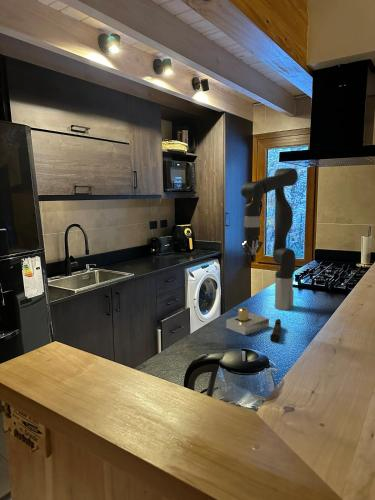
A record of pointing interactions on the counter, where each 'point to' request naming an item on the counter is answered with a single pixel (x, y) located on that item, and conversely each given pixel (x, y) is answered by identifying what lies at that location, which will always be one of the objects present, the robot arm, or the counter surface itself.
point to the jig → (247, 324)
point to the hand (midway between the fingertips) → (252, 261)
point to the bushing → (243, 314)
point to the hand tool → (276, 331)
